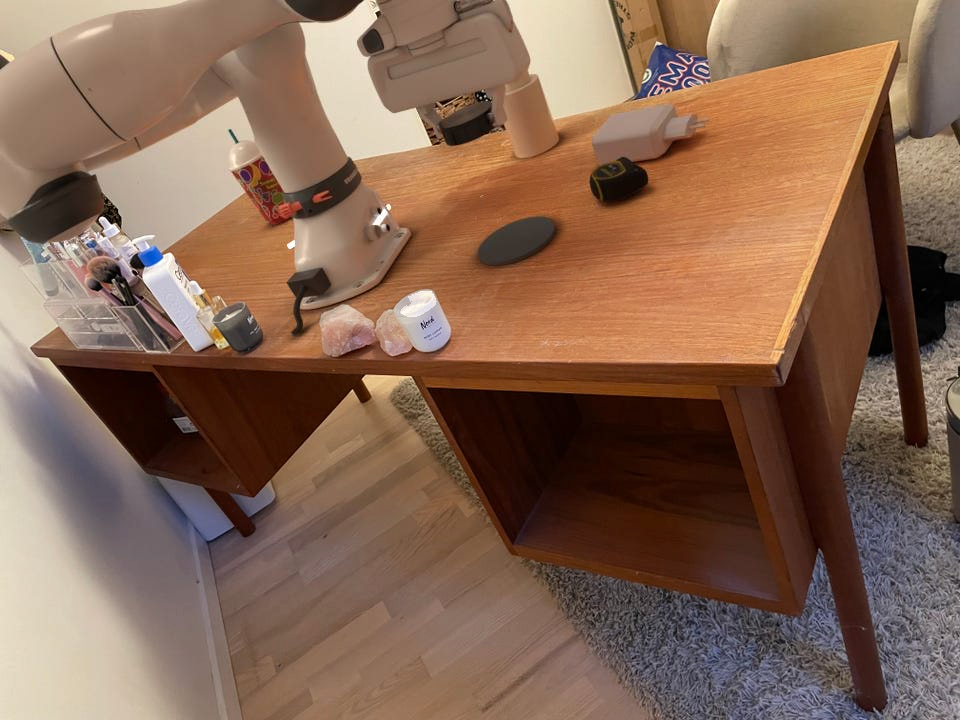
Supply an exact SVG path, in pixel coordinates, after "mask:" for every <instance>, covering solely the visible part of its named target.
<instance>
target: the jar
mask: <svg viewBox="0 0 960 720" xmlns="http://www.w3.org/2000/svg"><path fill="white" fill-rule="evenodd" d="M504 85H505V87H506V92H505V99H504V105H503V107H504V110H505V112H506V115H507V121H506V122H505V123H504V124H503V126H504V129H505V131H506V134H507V136H508V139H509V142H510V144H511V147H512V150H513V153H514V156H515V157H516V158H517V159H529V158H532V157H533V158H534V157H535V156H539V155H541V154H543V153H546V152H547V151H549V150H550V149H553V148H554V147H555V146H556V145H557V144H558V143H559V141H560V136H559V134H558V133H559V132H558V130H557V128H556V124H555V122H554V118H553V116H552V113H551V110H550V106H549V103H548V100H547V98H546V94H545V92H544V89H543V86H542V82H541V79H540V77H539V75H538V74H536V73H531V74H530V72H529V70H528V71H527V72H526V73H525V74H524V75H523V76H522V77H521V78H520V79H519V80H517V81H516V82H512V83H508V84H504Z"/></svg>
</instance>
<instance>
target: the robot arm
mask: <svg viewBox="0 0 960 720" xmlns="http://www.w3.org/2000/svg"><path fill="white" fill-rule="evenodd" d="M364 1H365V0H185V1H182V2H179V3H176V4H172V5H168V6H162V7H161V6H160V7H155V8H143V9H142V8H141V9H130V10H129V9H128V10H122V11H118V12H113V13H108V14H105V15H101V16H98V17H94V18H91V19H88V20H85V21H82V22H80V23H77V24H74V25H72V26H70V27H68V28H65V29H63V30H61V31H59V32H57V33H55V34H53V35H52V36H50V37H47V38H46V39H44V40H42V41H39V43H37V44H35V45H34V46H32V47H30V48H29V49H27V50H25V51H24V52H22V53H21V54H19V55H18V56H16V57H15V58H13V59H12V60H11V61H10V60H8V58H6V57H5V56H3V54H0V214H1V215H2V216H3V217H4V218H5V219H6V221H5V223H6V224H7V226H8V227H10V229H12V230H13V231H14V232H15V233H16V234H17V235H19V236H20V237H22V238H23V239H24V240H25V241H27V242H28V243H32V244H33V243H34V244H38V245H45V244H48V243H61V242H65V241H69V240H72V239H74V238H77V237H79V236H80V235H82V234H84V233H85V232H86V231H88V230H89V229H90V228H91V227H92V226H93V225H94V224H95V222H96V221H97V219H98V217H99V216H100V215H101V214H103V212H104V207H105V196H104V193H103V191H102V188H101V185H100V183H99V180H98V176H97V174H96V173H95V174H92V175H91V174H90V172H91V171H95V170H98V169H101V168H104V167H106V166H109V165H112V164H115V163H117V162H120V161H122V160H124V159H126V158H129V157H131V156H132V155H135V154H137V153H139V152H142V151H143V150H145V149H148V148H149V147H151V146H153V145H155V144H157V143H159V142H161V141H163V140H165V139H167V138H169V137H171V136H173V135H175V134H177V133H179V132H181V131H182V130H184V129H186V128H189V127H191V126H193V125H195V124H196V123H197V122H199V121H200V120H201V119H203V118H204V117H207V116H208V115H209V114H211V113H212V112H214V111H216V110H217V109H219V108H221V107H223V106H224V105H226V104H228V103H231V102H232V101H233V100H235V99H237V98H238V101H239V102H240V104H241V106H242V108H243V111H244V114H245V116H246V119H247V121H248V124H249V127H250V128H251V132H252V134H253V135H252V136H253V139H254V142H255V143H256V146H257V147H258V149H259V151H260V152H261V154H262V156H263V158H264V159H265V161H266V163H267V164H268V166H269V168H270V169H271V171H272V173H273V174H274V176H275V178H276V179H277V181H278V183H279V184H280V186H281V188H282V189H283V191H282V194H283V197H284V200H285V204H283V205H280V206H279V210H280V211H279V213H281V214H280V215H282V217H284V218H285V219H286V218H288V217H290V216H291V218H292V220H293V240H292V241H291V242H289V243H288V244H286V245H287V247H288V249H289V250H290V249H292V248H293V249H294V250H293V251H294V253H293V254H294V259H293V261H294V267H295V270H296V271H295V272H294V273H293V274H292V275H291V276H290V278H289V279H288V280H287V281H286V285H287V286H288V288H289V289H290V291H291V292H292V294H293V295H294V297H295V300H294V303H293V307H292V308H293V309H292V310H293V311H292V312H293V316H294V319H295V322H296V327H294V328H293V329H292V330H291V332H290V333H291V335H292V336H294V337H296V336H298V335H299V334H300V333H301V332H302V330H303V327H304V321H303V320H304V319H303V317H302V315H301V310H304V311H305V310H314V309H315V310H316V309H320V308H324V307H328V306H331V305H334V304H338V303H340V302H343V301H346V300H349V299H351V298H353V297H356V296H358V295H361V294H363V293H365V292H366V291H368V290H370V289H372V288H374V287H376V286H377V285H378V284H380V282H381V281H382V280H383V278H384V277H385V275H387V272H388V271H389V270H390V268H391V267H392V265H393V264H394V262H395V261H396V259H397V257H398V256H399V254H400V253H401V251H402V250H403V248H404V247H405V245H406V244H407V243H408V241H409V240H410V238H411V236H412V232H411V231H410V229H409V228H408V227H400V225H399V224H398V223H397V221H396V219H395V218H394V215H393V214H392V212H391V211H390V210H391V205H390V204H386V202H385V201H384V199H383V198H382V196H381V194H380V193H379V191H377V190H375V189H373V188H371V187H369V186H368V185H367V184H365V183H364V181H362V179H363V177H362V175H361V173H360V171H359V168H358V166H357V164H356V163H355V162H354V160H353V159H352V157H350V156H348V155H347V153H346V151H345V149H344V147H343V145H342V143H341V141H340V139H339V138H338V136H337V134H336V132H335V129H334V128H333V125H332V123H331V121H330V119H329V118H328V116H327V114H326V112H325V109H324V107H323V104H322V102H321V99H320V96H319V92H318V89H317V87H316V83H315V80H314V77H313V73H312V70H311V67H310V64H309V61H308V58H307V56H306V47H307V46H306V37H305V33H304V30H303V28H302V25H301V24H302V23H305V24H308V23H309V24H311V23H313V24H314V23H318V24H329V23H334V22H335V23H336V22H338V21H341V20H343V19H345V18H346V17H348V16H349V15H351V14H352V13H353V12H354V11H355V10H356V9H357V7H358V6H359V5H360V4H362V3H363V2H364ZM374 1H375V3H376V5H377V7H378V10H379V12H380V15H379V16H378V17H377V18H375V19H376V20H374V22H372V24H371V25H369V27H368V28H367V29H366V30H365V31H364V32H363V33H362V34H361V35H360V36H359V37H358V39H357V40H356V45H357V48H358V50H359V52H360V53H361V55H362V56H363V57H365V58H368V59H367V72H368V74H369V77H370V80H371V82H372V85H373V87H374V89H375V92H376V94H377V96H378V98H379V100H380V102H381V104H382V105H383V107H384V108H385V109H386V110H388V111H389V112H390V113H391V114H398V113H400V112H405V111H410V110H413V109H416V112H417V114H418V116H419V117H420V118H421V119H422V120H423V121H424V122H425V123H426V124H428V126H430V127H431V128H432V130H433V132H434V133H435V137H436V138H437V139H439V140H441V139H444V137H443V135H442V133H441V130H440V128H439V124H440V122H441V121H442V120H443V119H444V118H443V117H442V116H441V115H440V114H439V112H437V111H436V110H435V108H436V106H437V105H436V103H440V102H443V101H446V100H451V99H454V98H458V97H463V96H466V95H470V94H474V93H477V92H478V93H479V92H481V91H484V92H485V94H486V97H487V98H488V99H491V98H492V99H491V102H492V109H491V111H489V112H488V113H487V114H486V115H487V118H488V120H489V121H490V125H491V127H495V126H496V127H499V126H504V123H505V122H506V121H507V115H506V112H505V110H504V107H503V105H504V99H505V92H506V87H505V85H504V84H508V83H512V82H516V81H517V80H519V79H520V78H521V77H522V76H523V75H524V74H525V73H526V72H527V71H528V72H529V68H530V65H531V56H530V53H529V51H528V48H527V46H526V44H525V41H524V39H523V37H522V35H521V32H520V30H519V28H518V26H517V24H516V23H515V21H514V16H513V14H512V11H511V8H510V5H509V2H508V1H507V0H374ZM300 23H301V24H300ZM496 127H495V128H496Z"/></svg>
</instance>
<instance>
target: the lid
mask: <svg viewBox="0 0 960 720" xmlns="http://www.w3.org/2000/svg"><path fill="white" fill-rule="evenodd" d="M491 109H492V101H491V100H483V101H482V100H481V101H478V102H474V103H471V104H469V105H466V106H464V107H462V108H459V109H458V110H455V111H454V112H452V113H450V114H449V115H447V116H446V117H445V118H443V120H442V121H441V122H440V124H439V128H440V130H441V133H442V135H443V137H444V138H443V139H444V142H445V144H446V146H449V147H457V146H462V145H465V144H468V143H470V142H473V141H475V140H478V139H480V138H482V137H484V136H485V135H487V134H489V133H491V132H492V131H493V130H494V129H496V128H497V126H495V127H491V125H490V121H489V120H488V118H487V115H486V114H487V113H488V112H489V111H491Z"/></svg>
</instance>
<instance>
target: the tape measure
mask: <svg viewBox="0 0 960 720" xmlns="http://www.w3.org/2000/svg"><path fill="white" fill-rule="evenodd" d="M648 183H649V175H648V172H647V170H645V168H644V167H642V166H640V165H638V164H637V163H634V162H632V161H631V160H629V159H628V158H626V157H621V158H619V159H617V160H616V161H613V162H609V163H606V164H603V165H601V166H598V167H596V168H595V169H594V170H593V171H592V172H591V173H590V175H589V181H588V184H589V187H590V190H591V193H592V195H593V197H594V198H595V199H596V200H598V201H601V202H606V203H608V202H609V203H610V202H617V201H620V200H624V199H626V198H628V197H630V196H632V195H633V194H635V193H636V192H638V191H640V190H641V189H643V188H644V187H646V186H647V185H648Z"/></svg>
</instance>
